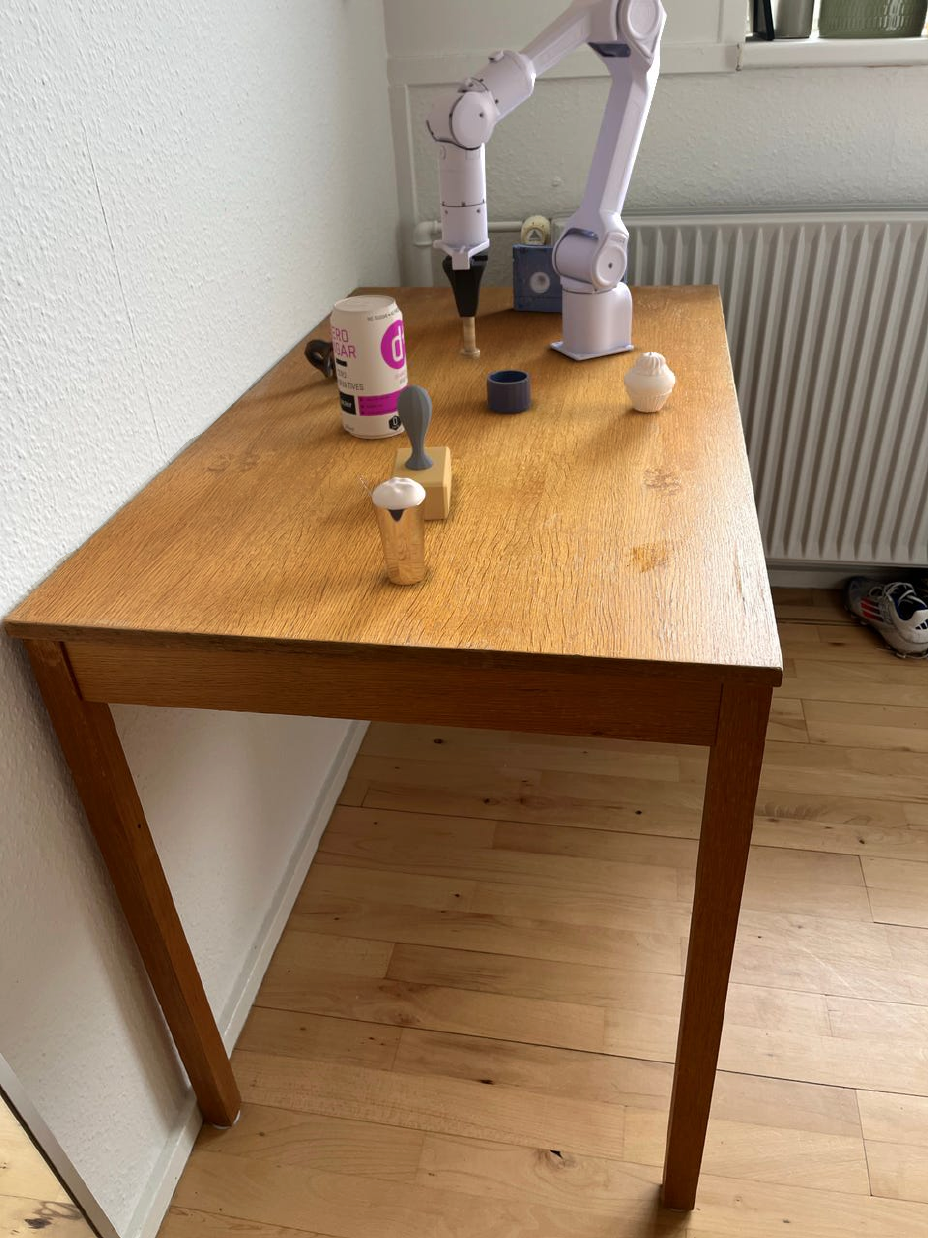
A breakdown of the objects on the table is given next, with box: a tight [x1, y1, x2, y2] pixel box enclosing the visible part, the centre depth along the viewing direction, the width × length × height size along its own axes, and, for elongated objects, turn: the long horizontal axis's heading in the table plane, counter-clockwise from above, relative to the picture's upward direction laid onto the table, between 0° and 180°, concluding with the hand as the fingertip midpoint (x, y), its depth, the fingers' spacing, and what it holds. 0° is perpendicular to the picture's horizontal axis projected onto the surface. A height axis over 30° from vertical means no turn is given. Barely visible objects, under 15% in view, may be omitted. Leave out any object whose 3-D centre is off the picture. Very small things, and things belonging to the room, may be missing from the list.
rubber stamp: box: [389, 384, 453, 521], centre depth 96 cm, size 10×6×12 cm, turn 179°
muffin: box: [623, 351, 676, 414], centre depth 115 cm, size 6×6×7 cm
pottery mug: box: [303, 338, 337, 379], centre depth 129 cm, size 12×10×8 cm
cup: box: [485, 369, 532, 415], centre depth 119 cm, size 5×5×4 cm
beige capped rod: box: [459, 317, 481, 360], centre depth 126 cm, size 3×3×8 cm
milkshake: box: [359, 475, 426, 586], centre depth 83 cm, size 4×5×10 cm
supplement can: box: [329, 294, 409, 440], centre depth 112 cm, size 8×8×15 cm
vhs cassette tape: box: [512, 243, 629, 313], centre depth 153 cm, size 18×3×10 cm, turn 69°
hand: (468, 314), depth 125 cm, fingers closed on beige capped rod
